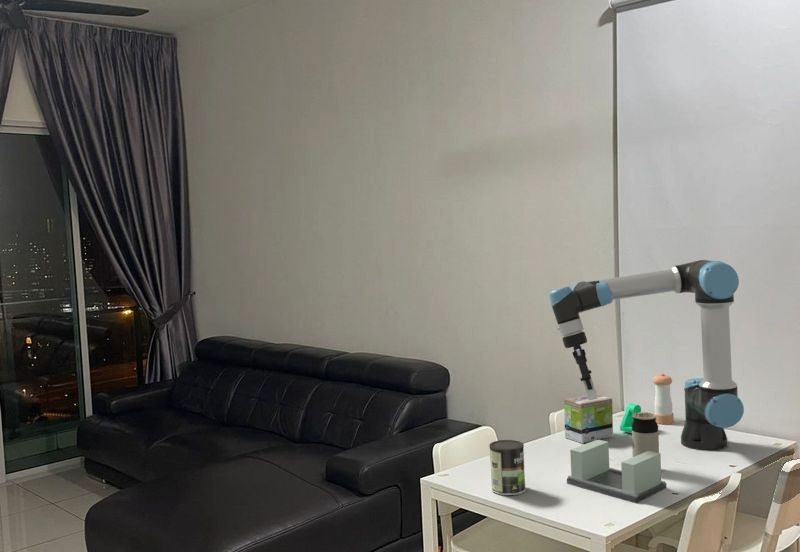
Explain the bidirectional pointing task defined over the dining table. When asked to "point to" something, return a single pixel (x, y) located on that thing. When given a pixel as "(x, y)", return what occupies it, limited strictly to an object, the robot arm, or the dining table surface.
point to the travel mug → (644, 433)
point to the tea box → (588, 418)
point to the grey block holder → (635, 470)
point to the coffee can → (507, 467)
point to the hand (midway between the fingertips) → (592, 396)
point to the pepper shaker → (663, 399)
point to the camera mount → (629, 417)
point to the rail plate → (613, 485)
